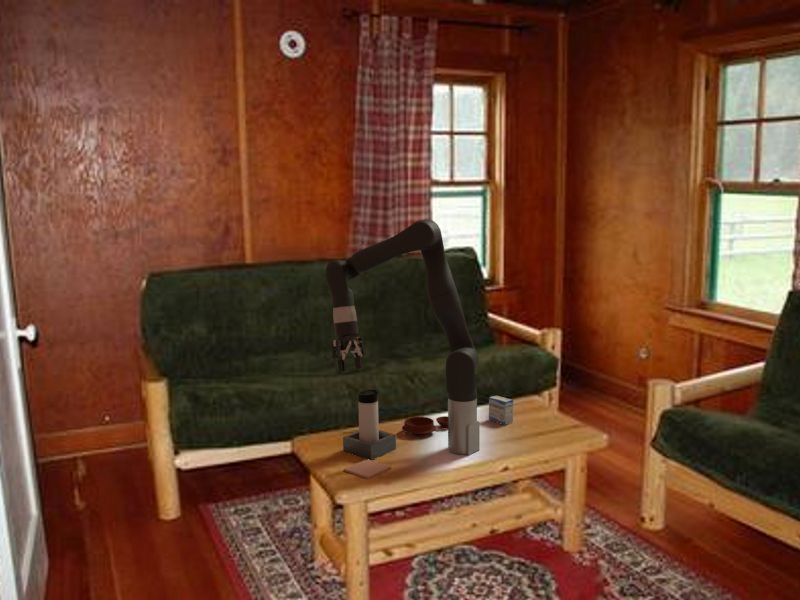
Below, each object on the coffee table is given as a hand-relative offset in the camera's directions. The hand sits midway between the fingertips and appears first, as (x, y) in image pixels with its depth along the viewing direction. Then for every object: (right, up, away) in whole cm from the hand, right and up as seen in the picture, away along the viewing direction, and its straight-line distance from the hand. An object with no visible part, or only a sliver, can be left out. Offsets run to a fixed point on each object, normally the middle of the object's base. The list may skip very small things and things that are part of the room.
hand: (351, 370), depth 235 cm
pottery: (+26, -23, +15) cm, 38 cm away
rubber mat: (+6, -28, -19) cm, 34 cm away
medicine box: (+52, -21, +23) cm, 61 cm away
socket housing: (+6, -26, -3) cm, 27 cm away
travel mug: (+6, -26, -3) cm, 27 cm away
